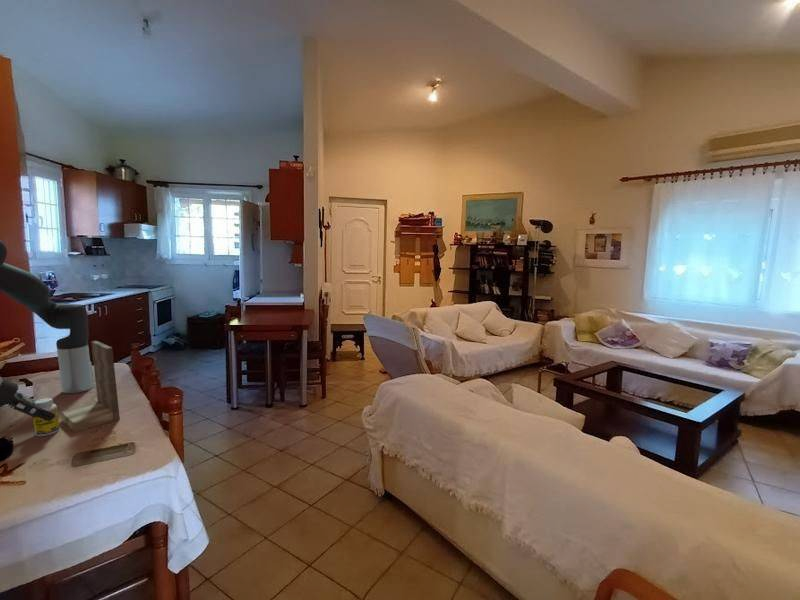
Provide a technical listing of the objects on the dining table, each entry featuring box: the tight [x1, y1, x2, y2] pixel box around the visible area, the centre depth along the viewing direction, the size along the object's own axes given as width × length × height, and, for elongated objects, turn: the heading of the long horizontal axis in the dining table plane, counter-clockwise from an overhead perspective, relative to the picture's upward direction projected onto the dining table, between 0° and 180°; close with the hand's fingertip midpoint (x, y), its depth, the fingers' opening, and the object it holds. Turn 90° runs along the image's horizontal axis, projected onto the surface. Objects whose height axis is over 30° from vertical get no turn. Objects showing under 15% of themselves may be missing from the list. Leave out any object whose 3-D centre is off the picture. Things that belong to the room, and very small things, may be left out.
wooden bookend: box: [60, 340, 121, 433], centre depth 127 cm, size 14×12×24 cm
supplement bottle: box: [31, 397, 60, 437], centre depth 120 cm, size 6×6×10 cm
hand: (48, 414), depth 120 cm, fingers open, 8 cm apart
